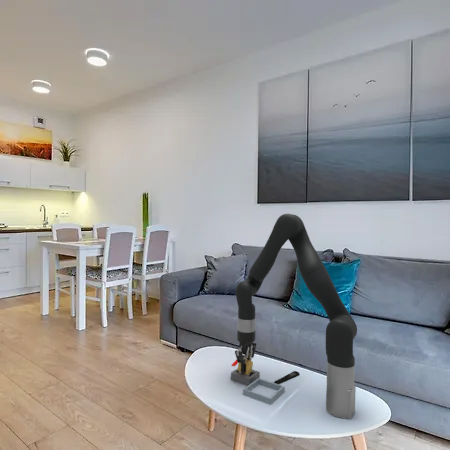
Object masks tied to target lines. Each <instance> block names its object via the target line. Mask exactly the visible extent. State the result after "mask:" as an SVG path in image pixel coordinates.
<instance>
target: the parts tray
mask: <svg viewBox="0 0 450 450" xmlns="http://www.w3.org/2000/svg"><path fill="white" fill-rule="evenodd" d="M259 385H260V386H263V387H266V388H269V389H272V390H275V391H276V392H274V393H273V394H272V395H271V396H266V395H264V394H261V393H258V392H255V391H253V390H254V389H255V388H257V387H258V386H259ZM285 390H286V386H284V385H281V384H276V383H274V382H272V381H268V380H267V379H264V378H258V379H256V380H255V381H254V382H252V383H251V384H250V385H248V386H246V387H244V388H243V389H242V396H246V397H249V398H250V399H254V400H257V401H259V402H262V403H265V404H268V405H271V406H272V404H273V403H274V402H276V400H278V398H280V397H281V396H282V395H283V394H284V393H285V392H286V391H285Z"/></svg>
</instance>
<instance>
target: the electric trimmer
mask: <svg viewBox="0 0 450 450" xmlns="http://www.w3.org/2000/svg"><path fill="white" fill-rule="evenodd" d="M299 376H300V372H299V371H297V370H293V371H292V372H290V373H288V374H286V375H284V376H283V377H280V378H279V379H276V380H275V381H273V383H275V384H279V385H281V384H283V383H285V382H288V381H290V380H293V379H294V378H297V377H299Z"/></svg>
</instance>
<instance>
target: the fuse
mask: <svg viewBox="0 0 450 450" xmlns="http://www.w3.org/2000/svg"><path fill="white" fill-rule="evenodd" d="M243 359H244V358H243ZM253 366H254V361H252V360H251V361H250V360H248V359H247V361H246V372H245V375H246V376H249V377H250V373H251V372H252V370H253ZM237 369H238V370H239V372H238V373H240V374H243V375H244V373H243V372H241V363H237Z"/></svg>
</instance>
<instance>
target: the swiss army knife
mask: <svg viewBox="0 0 450 450" xmlns="http://www.w3.org/2000/svg"><path fill="white" fill-rule="evenodd" d="M238 364H239V363H238V362H237V359H236V360H234V362H233V363H232V364H231V367H236V366H238Z"/></svg>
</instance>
